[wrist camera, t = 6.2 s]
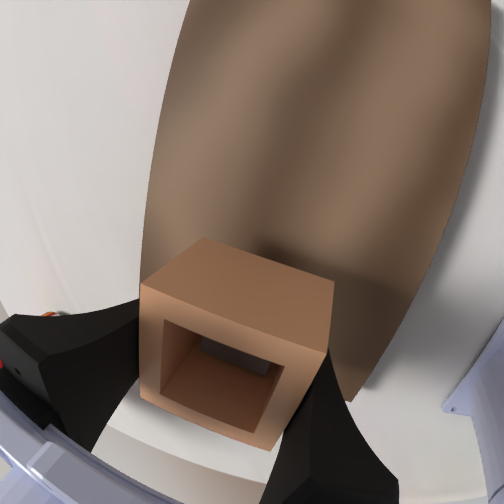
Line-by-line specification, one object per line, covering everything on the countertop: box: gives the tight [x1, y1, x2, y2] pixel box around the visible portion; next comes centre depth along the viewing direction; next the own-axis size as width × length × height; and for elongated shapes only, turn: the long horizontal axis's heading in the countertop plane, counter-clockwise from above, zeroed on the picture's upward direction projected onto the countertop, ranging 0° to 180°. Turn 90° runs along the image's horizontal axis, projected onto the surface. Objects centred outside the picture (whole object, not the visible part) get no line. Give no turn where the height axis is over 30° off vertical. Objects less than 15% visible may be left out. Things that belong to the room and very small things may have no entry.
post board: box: [139, 0, 491, 402], centre depth 11 cm, size 14×24×5 cm, turn 167°
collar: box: [139, 237, 334, 451], centre depth 11 cm, size 6×6×4 cm
